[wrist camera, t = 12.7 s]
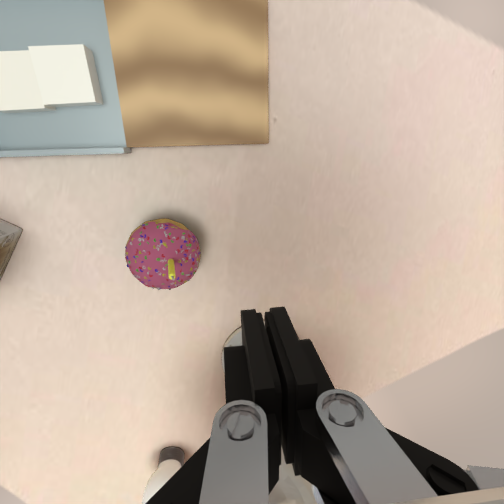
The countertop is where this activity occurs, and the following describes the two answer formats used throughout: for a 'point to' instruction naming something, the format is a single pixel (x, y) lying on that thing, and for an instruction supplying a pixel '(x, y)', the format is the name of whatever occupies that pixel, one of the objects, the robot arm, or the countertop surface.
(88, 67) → the tile
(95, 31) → the tray
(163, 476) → the light bulb
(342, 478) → the robot arm
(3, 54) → the tile
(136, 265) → the cupcake
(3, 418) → the countertop surface
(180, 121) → the board
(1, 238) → the coffee box
